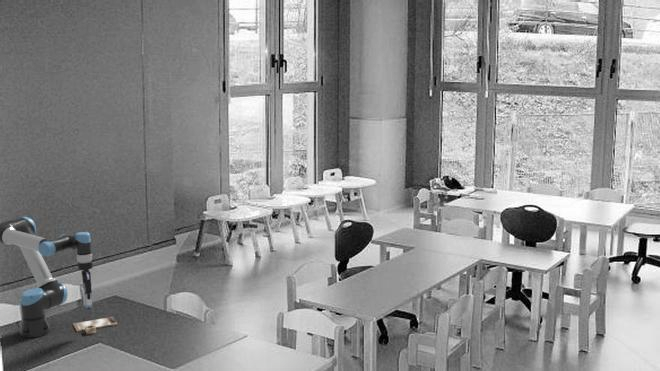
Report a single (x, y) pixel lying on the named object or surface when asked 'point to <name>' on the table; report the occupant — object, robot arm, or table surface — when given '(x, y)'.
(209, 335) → the table surface
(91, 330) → the stand
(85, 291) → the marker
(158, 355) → the table surface
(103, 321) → the clipboard
